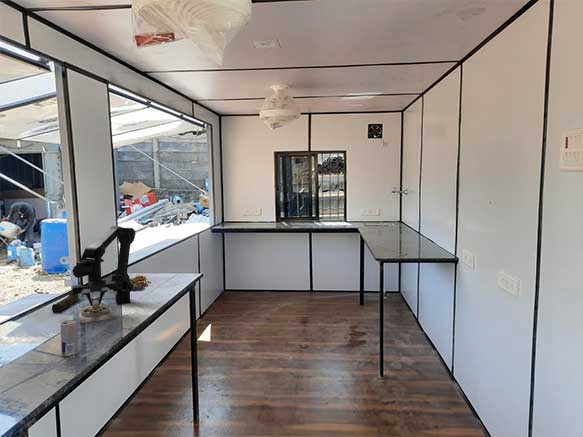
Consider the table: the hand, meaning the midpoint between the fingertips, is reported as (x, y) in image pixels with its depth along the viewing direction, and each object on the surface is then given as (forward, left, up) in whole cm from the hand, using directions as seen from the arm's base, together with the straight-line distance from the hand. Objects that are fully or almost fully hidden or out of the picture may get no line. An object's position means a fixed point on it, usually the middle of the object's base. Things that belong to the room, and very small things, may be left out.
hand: (95, 305), depth 184 cm
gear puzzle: (-25, -49, -6) cm, 56 cm away
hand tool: (+12, -22, -5) cm, 26 cm away
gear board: (0, -2, -5) cm, 5 cm away
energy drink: (+11, +41, -5) cm, 43 cm away
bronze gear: (0, 0, -2) cm, 2 cm away
